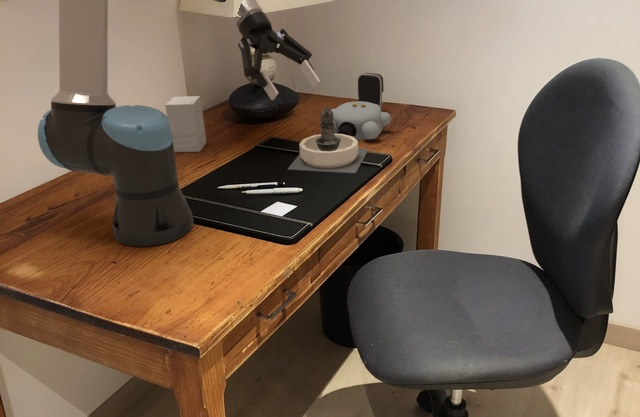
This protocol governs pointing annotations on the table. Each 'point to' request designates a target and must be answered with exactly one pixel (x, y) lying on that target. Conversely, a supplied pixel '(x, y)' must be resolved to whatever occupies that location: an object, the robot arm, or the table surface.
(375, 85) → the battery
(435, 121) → the table surface
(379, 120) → the grey rounded piece
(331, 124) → the grey upright statuette
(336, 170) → the mat
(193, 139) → the supplement box
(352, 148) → the bowl
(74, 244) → the table surface
